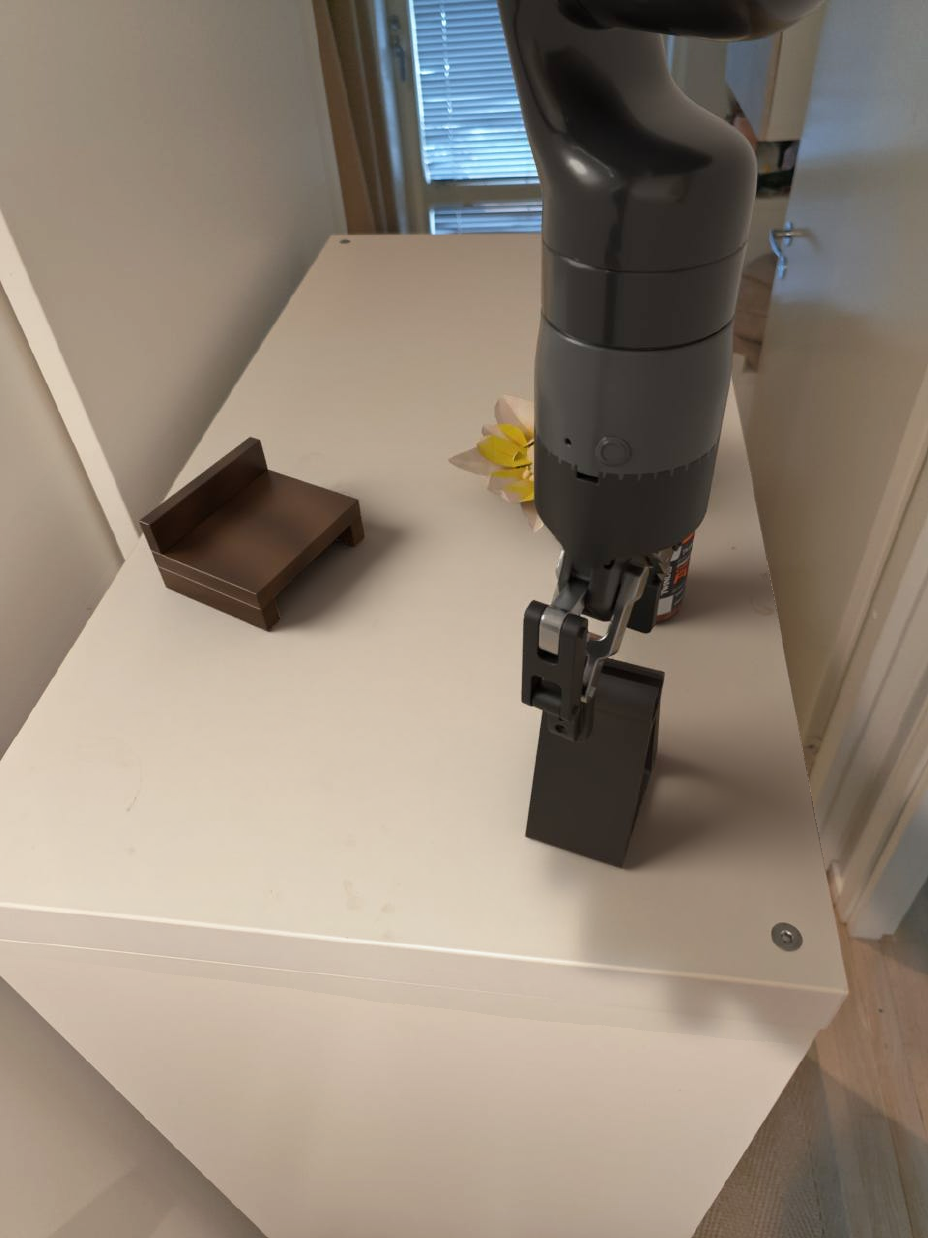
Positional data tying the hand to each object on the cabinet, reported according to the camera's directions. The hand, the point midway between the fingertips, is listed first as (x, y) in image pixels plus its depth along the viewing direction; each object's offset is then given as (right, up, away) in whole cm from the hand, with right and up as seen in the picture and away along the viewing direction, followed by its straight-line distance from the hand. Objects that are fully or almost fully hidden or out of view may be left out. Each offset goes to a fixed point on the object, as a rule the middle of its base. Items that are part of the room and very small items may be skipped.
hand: (603, 676), depth 46 cm
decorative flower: (-1, +15, +31) cm, 34 cm away
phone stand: (+1, -8, +8) cm, 11 cm away
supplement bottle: (+6, +4, +20) cm, 22 cm away
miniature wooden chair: (-24, +8, +26) cm, 36 cm away
